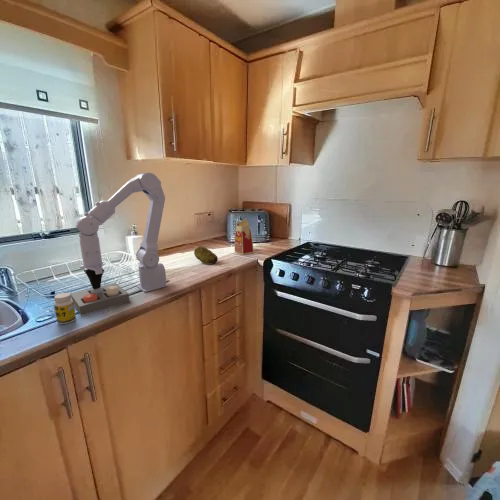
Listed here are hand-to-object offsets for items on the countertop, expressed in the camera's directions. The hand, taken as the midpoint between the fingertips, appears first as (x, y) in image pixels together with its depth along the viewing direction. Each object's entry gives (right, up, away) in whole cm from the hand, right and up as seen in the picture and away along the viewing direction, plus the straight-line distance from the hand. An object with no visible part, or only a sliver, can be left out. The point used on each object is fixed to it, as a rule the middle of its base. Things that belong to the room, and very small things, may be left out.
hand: (96, 288), depth 98 cm
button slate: (0, -3, +1) cm, 3 cm away
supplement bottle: (-1, -8, -14) cm, 16 cm away
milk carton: (+51, +12, +64) cm, 83 cm away
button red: (+1, -5, -6) cm, 8 cm away
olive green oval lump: (+32, +7, +44) cm, 55 cm away
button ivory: (+7, -3, -1) cm, 7 cm away
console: (+2, -4, -1) cm, 5 cm away
